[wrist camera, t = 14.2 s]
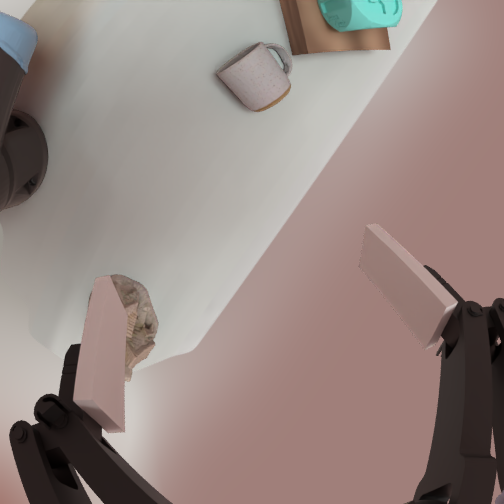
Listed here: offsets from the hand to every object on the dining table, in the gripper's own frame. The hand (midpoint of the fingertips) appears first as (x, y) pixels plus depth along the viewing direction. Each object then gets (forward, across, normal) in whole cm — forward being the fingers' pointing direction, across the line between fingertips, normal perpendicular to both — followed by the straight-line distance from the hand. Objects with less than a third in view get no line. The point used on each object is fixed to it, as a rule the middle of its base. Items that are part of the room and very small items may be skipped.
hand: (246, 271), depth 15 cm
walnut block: (+32, +21, +20) cm, 43 cm away
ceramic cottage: (+32, -19, -30) cm, 48 cm away
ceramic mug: (+32, +9, +9) cm, 35 cm away
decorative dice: (+26, +21, +20) cm, 39 cm away
